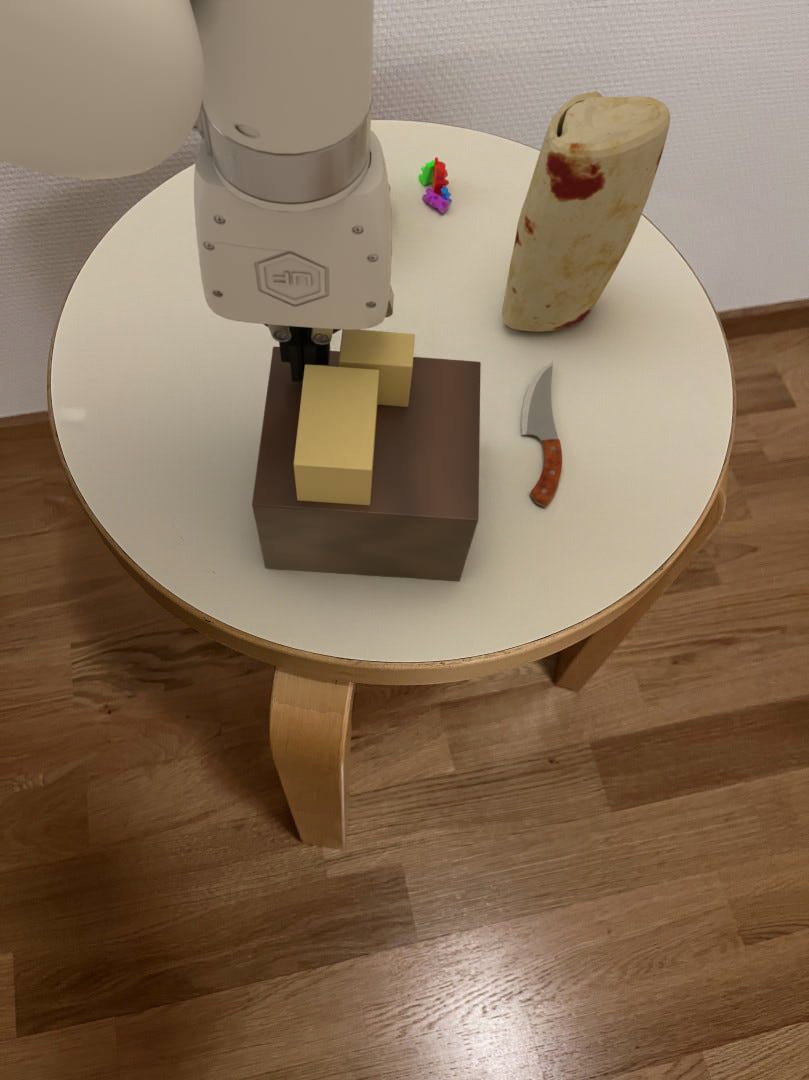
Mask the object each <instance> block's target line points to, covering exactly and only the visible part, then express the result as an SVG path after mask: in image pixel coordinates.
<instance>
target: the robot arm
mask: <svg viewBox="0 0 809 1080" xmlns="http://www.w3.org/2000/svg"><path fill="white" fill-rule="evenodd" d="M374 12H375V0H0V162H3V163H6V164H9V165H12V166H16V167H19V168H24V169H27V170H31V171H35V172H38V173H43V174H49V175H55V176H59V177H64V178H72V179H83V180H84V179H85V180H110V179H112V180H113V179H120V178H125V177H130V176H133V175H137V174H141V173H144V172H146V171H148V170H150V169H153V168H155V167H157V166H158V165H160V164H161V163H163V162H165V161H166V160H167V159H168V158H169V157H171V156H172V155H174V154H175V153H176V152H177V151H178V150H179V149H180V147H181V146H182V145H183V144H184V142H185V141H186V140H188V137H189V136H190V134H191V132H197V133H199V135H200V138H201V140H200V144H199V147H198V149H197V152H196V155H195V159H194V160H195V162H194V173H193V205H194V206H193V207H194V221H195V223H194V224H195V232H196V243H197V251H198V252H197V253H198V260H199V269H200V278H201V284H202V291H203V294H204V298H205V301H206V305H207V307H208V308H209V309H210V310H211V311H212V312H213V313H214V314H215V315H217V316H219V317H221V318H223V319H226V320H229V321H234V322H241V323H249V324H261V325H263V326H265V327H267V328H268V330H269V332H270V335H271V337H272V339H273V340H275V341H277V342H278V344H279V345H278V347H280V355H281V362H288V363H290V366H291V376H292V382H300V381H301V380H303V378H304V369H305V365H329V357H330V351H331V342H332V339H333V335H334V334H336V333H337V332H339V331H342V329H347V330H368V329H371V328H374V327H377V326H379V325H381V324H382V323H383V322H384V321H385V319H386V318H390V317H391V316H392V315H393V314H394V300H395V295H394V291H393V287H392V285H391V284H392V283H391V282H392V256H393V223H392V222H393V221H392V204H391V203H392V202H391V190H390V191H389V185H390V183H389V176H388V171H387V164H386V160H385V156H384V152H383V151H384V150H383V147H382V144H381V141H380V140H379V138H378V136H377V135H376V133H375V132H374V131H373V130H372V96H373V95H372V93H373V89H372V88H373V53H374V51H373V50H374V49H373V48H374Z"/></svg>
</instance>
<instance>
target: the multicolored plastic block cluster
mask: <svg viewBox="0 0 809 1080" xmlns="http://www.w3.org/2000/svg"><path fill="white" fill-rule="evenodd" d="M420 170H421V172H422V173H419V175H418V179H419V180H420V182H421V184H422V185H423V186H427V185H429V184H431V188H429V187H427V188H426V189H425V193H426V194H423V195H422V197H421V198H422V200H423V201H424V202H426V203H427V204H429V205H430V206H432V207H433V208H435V209H437V210H438V211H439V212H441V213H443V214H446V212H447V210H448V208H449V207H450V205H451V203H452V201H453V200H452V199H451V198H450V196H451V195H452V193H451V192H450V191H449V188H448V187H447V186H449V184H450V181H449V180H448V179H446V178H447V177H448V176H449V173H448V170H447V169H446V164H445V163H444V162H443V161H441V160H439V157H438V156H436V157H434V159H433V160H431V161H428V162H426V163H425V166H422V167H421V168H420Z"/></svg>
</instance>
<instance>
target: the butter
mask: <svg viewBox="0 0 809 1080" xmlns="http://www.w3.org/2000/svg"><path fill="white" fill-rule="evenodd" d="M378 383H379V370H373V369H360V368H346V367H333V366H319V365H305V369H304V378H303V387H302V395H301V404H300V413H299V422H298V430H297V439H296V448H295V457H294V473H295V482H296V492H297V500H298V501H312V502H327V503H341V504H355V505H370V501H371V487H372V473H373V459H374V445H375V431H376V417H377V401H378Z"/></svg>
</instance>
